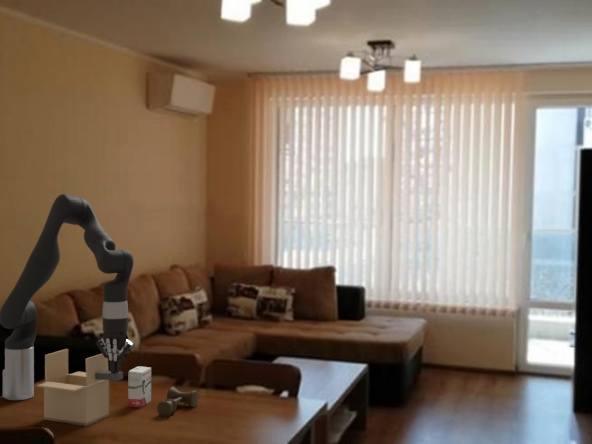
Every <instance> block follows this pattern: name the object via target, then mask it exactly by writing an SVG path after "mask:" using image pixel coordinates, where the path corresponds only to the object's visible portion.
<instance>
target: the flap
mask: <svg viewBox="0 0 592 444" xmlns="http://www.w3.org/2000/svg"><path fill="white" fill-rule="evenodd" d="M85 372H86V382H87V385H90V384H93V383H96V382H99V381H101V380H109V381H120V380H123V379H124V372H123V371H119V372H118V373H111V371H110V370H109V359H108V358H105V357H104V356H103V354H102V353H100V354H96V355H93V356H90V357H87V358H85Z"/></svg>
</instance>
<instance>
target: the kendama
mask: <svg viewBox="0 0 592 444" xmlns="http://www.w3.org/2000/svg"><path fill="white" fill-rule="evenodd" d="M180 403H183V404H187V405H188V406H189V407H191V408H195V407H196V406H197V405H198V403H199V393H198V391H197V390H192V391H188V392H183V391H179V390H178V389H177V388H176V387H175V386H170V388H169V389H168V391H167V393H166V399H165V400H164V401H159V402H158V403H157V406H156V407H157V408H156V410H157V413H158V415H160V416H161V417H163V418H164V417H165V418H166V417H170V416H171V415H172V413H173V412H175V411H176V410H177V409H178V408H177V407H178V405H179V404H180Z"/></svg>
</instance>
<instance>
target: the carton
mask: <svg viewBox="0 0 592 444" xmlns="http://www.w3.org/2000/svg"><path fill="white" fill-rule="evenodd" d="M44 380H45V381H43V383H39V384H37V385H36V386H37V388H38V387H39V388H43V420H45V421H52V422H59V423H64V424H68V425H69V424H70V425H76V426H82V425H83V427H87V425H88V426H89V425H92V424H94V422H95V423H98V422H99V421H101V420H103V419H106V418H108V417H109V416H110V413H109V412H110V405H109V404H110V380H101V381H99V382H96V383H93V384H90V385H87V382H86V371H85V372H84V371H75V372H73V373H69V348H65V349H60V350H58V351H54V352H52V353H48V354H45V355H44Z"/></svg>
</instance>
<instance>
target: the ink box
mask: <svg viewBox="0 0 592 444" xmlns="http://www.w3.org/2000/svg"><path fill="white" fill-rule="evenodd" d="M127 380H128V382H127V384H128V385H127V390H128V391H127V394H128V395H127V397H128V398H127V400H128V402H127V404H128V407H130V408H143V407H145V406H146V405H147V404H149V403H151V401H152V367H149V366H148V367H147V366H142V365H141V366H140V365H139V366H136V367H134V368H132V369H129V371H128V379H127Z"/></svg>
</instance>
